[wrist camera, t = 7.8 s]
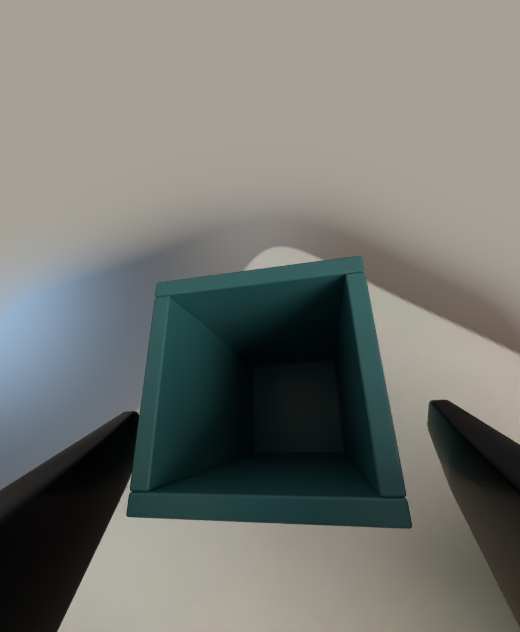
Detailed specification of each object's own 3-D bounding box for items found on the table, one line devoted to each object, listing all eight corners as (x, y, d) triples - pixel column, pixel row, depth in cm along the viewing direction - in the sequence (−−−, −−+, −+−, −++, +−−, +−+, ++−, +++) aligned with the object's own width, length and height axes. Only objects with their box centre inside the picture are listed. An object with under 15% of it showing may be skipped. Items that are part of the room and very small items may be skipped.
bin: (354, 461, 15) (414, 530, 5) (247, 461, 16) (125, 518, 6) (340, 353, 17) (362, 254, 7) (247, 360, 18) (155, 282, 8)
